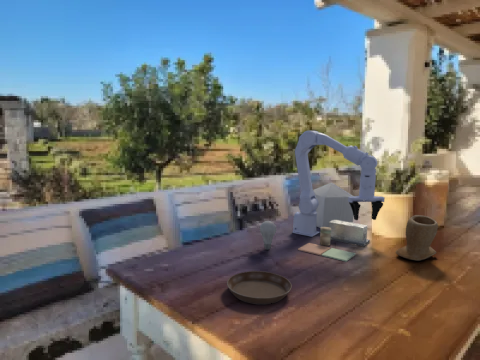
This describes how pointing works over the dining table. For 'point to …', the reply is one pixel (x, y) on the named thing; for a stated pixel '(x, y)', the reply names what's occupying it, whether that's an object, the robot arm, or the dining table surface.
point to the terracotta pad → (314, 249)
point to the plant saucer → (259, 287)
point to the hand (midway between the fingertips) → (364, 219)
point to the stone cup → (419, 238)
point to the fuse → (325, 236)
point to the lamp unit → (349, 232)
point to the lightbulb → (267, 233)
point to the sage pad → (338, 254)
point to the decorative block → (332, 205)
